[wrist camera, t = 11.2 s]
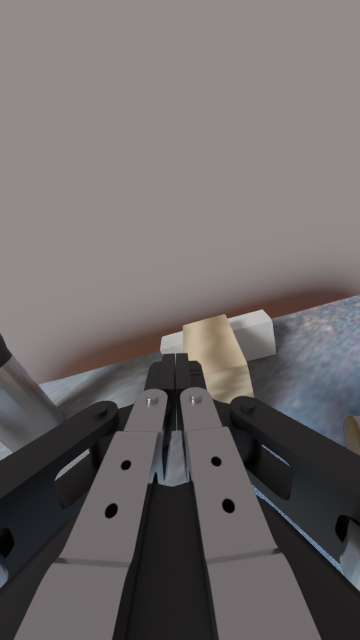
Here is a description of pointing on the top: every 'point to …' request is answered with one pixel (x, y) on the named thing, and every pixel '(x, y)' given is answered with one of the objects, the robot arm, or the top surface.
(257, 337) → the white rectangular block
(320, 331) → the top surface
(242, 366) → the maple block
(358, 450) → the ceramic mug
